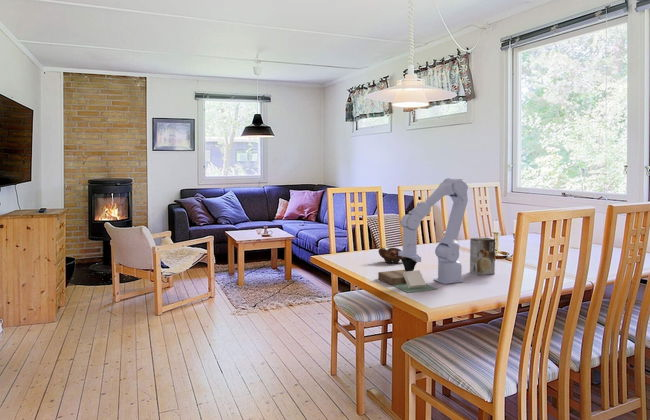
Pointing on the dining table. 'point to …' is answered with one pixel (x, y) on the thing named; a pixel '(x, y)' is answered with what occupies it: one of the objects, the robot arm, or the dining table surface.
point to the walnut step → (392, 277)
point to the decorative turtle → (390, 255)
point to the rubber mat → (406, 289)
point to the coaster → (414, 279)
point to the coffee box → (482, 256)
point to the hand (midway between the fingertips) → (409, 275)
